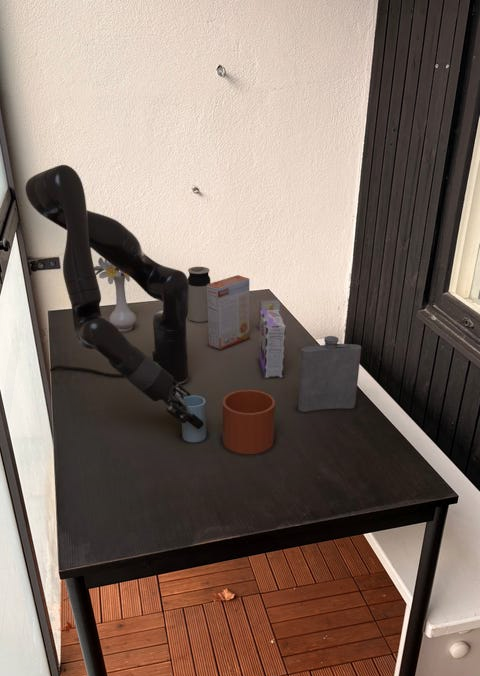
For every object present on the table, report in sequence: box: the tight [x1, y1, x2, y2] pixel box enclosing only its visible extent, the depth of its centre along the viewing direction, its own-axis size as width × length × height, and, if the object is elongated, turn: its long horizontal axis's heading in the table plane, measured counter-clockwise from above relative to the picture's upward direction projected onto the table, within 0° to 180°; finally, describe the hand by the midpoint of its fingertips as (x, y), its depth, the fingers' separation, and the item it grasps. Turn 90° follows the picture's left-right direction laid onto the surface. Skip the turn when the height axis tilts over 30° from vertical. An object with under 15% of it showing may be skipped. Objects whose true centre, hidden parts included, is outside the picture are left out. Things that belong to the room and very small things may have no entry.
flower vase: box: [94, 256, 138, 333], centre depth 219 cm, size 13×18×25 cm
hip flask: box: [297, 335, 362, 413], centre depth 171 cm, size 16×4×20 cm, turn 99°
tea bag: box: [258, 299, 281, 330], centre depth 223 cm, size 4×7×10 cm, turn 98°
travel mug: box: [187, 266, 211, 323], centre depth 229 cm, size 8×8×18 cm
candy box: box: [259, 310, 286, 379], centre depth 193 cm, size 14×6×16 cm, turn 5°
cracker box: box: [207, 274, 250, 350], centre depth 210 cm, size 14×6×21 cm, turn 135°
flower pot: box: [221, 389, 276, 455], centre depth 158 cm, size 13×13×11 cm
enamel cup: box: [181, 394, 207, 443], centre depth 160 cm, size 6×6×10 cm
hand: (200, 419), depth 160 cm, fingers closed on enamel cup, 6 cm apart
